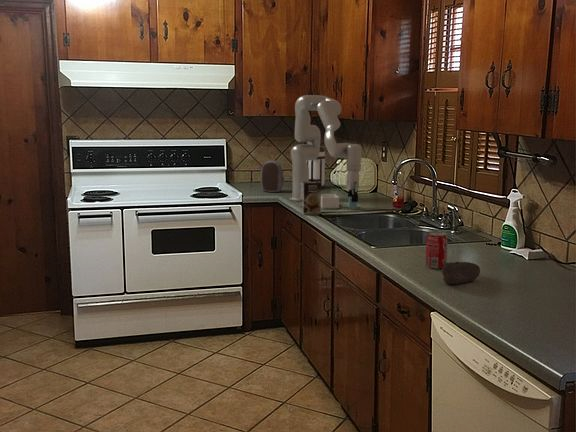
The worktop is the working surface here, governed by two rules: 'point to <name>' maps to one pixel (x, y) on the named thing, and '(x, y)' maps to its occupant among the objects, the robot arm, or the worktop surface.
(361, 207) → the mat
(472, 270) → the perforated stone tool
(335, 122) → the robot arm
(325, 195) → the tub
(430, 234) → the soda can
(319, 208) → the coffee box
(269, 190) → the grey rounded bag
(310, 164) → the coffee press
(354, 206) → the lid
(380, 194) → the worktop surface
